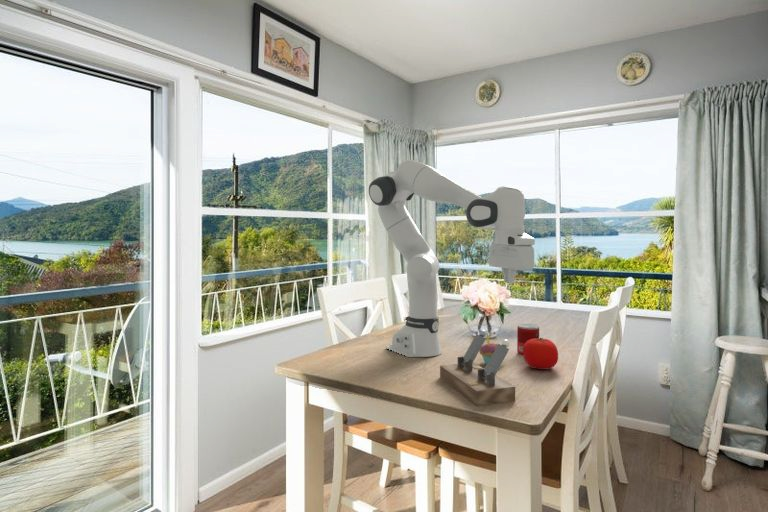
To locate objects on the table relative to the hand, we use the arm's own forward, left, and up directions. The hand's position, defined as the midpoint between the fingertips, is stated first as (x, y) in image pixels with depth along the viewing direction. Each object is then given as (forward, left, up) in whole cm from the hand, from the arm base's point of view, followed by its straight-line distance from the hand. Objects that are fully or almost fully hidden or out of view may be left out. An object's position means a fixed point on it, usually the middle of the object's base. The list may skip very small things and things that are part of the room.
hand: (509, 283), depth 138 cm
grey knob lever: (-10, -10, -26) cm, 29 cm away
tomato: (+2, +20, -31) cm, 37 cm away
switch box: (-4, -13, -31) cm, 34 cm away
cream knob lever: (+2, -16, -26) cm, 31 cm away
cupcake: (-13, +13, -31) cm, 36 cm away
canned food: (-9, +34, -31) cm, 47 cm away
